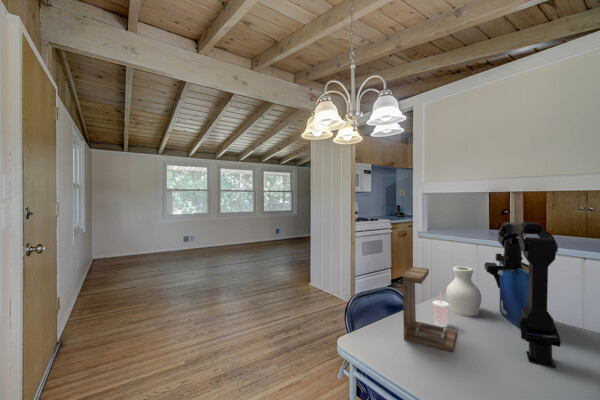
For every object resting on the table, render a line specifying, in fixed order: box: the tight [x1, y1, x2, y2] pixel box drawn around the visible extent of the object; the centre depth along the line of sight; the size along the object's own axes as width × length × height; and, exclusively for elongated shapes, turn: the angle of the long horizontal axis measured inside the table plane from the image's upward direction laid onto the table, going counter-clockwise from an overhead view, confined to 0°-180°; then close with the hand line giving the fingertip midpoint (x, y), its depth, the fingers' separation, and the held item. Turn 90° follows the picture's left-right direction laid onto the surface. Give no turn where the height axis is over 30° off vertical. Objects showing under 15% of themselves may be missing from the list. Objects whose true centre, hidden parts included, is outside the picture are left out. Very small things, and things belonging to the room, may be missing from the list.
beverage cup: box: [432, 290, 449, 328], centre depth 113 cm, size 6×6×14 cm
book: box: [498, 261, 541, 336], centre depth 111 cm, size 22×7×25 cm, turn 168°
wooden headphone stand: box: [402, 266, 457, 353], centre depth 103 cm, size 16×16×24 cm
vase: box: [445, 265, 483, 317], centre depth 126 cm, size 14×14×20 cm
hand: (512, 289), depth 112 cm, fingers open, 9 cm apart
